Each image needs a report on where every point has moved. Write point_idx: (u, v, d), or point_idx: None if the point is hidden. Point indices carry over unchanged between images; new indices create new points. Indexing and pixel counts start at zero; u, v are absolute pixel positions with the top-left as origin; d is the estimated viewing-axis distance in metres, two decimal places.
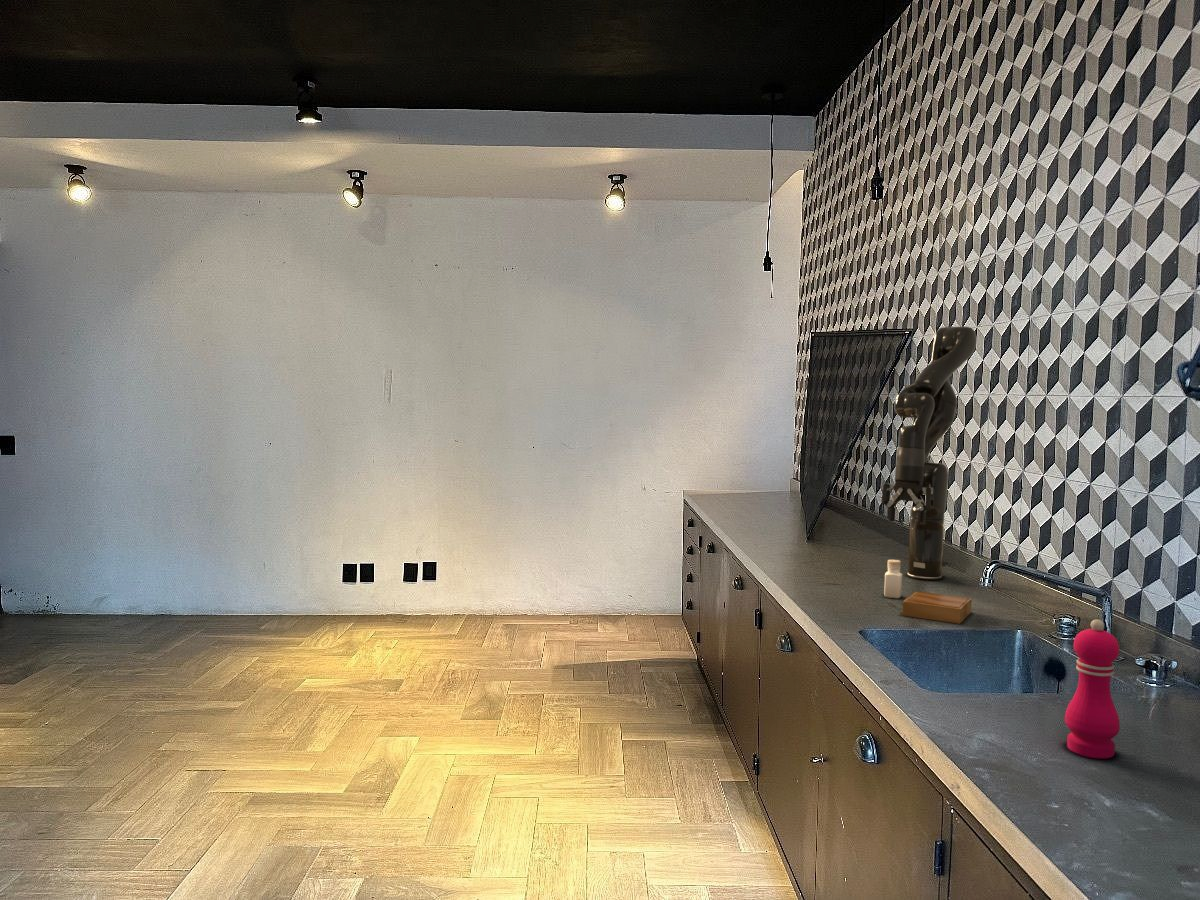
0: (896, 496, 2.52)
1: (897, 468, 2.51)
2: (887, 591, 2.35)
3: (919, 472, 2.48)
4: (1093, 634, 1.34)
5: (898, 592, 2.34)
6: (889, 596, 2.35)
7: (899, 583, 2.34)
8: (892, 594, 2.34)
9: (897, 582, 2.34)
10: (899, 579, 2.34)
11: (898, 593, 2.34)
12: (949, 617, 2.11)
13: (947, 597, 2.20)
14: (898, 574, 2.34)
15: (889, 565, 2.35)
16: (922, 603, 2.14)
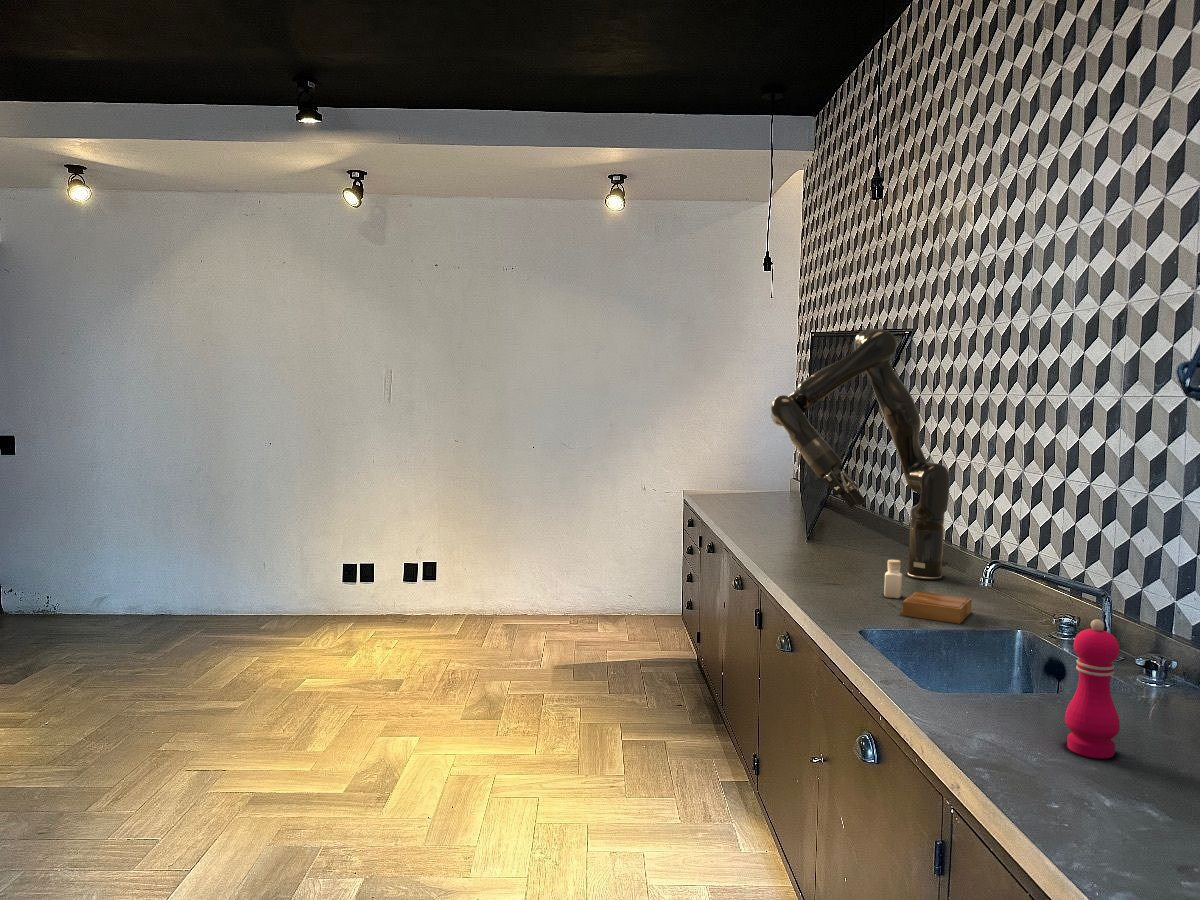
0: None
1: None
2: (887, 591, 2.35)
3: (817, 466, 2.43)
4: (1093, 634, 1.34)
5: (898, 592, 2.34)
6: (889, 596, 2.35)
7: (899, 583, 2.34)
8: (892, 594, 2.34)
9: (897, 582, 2.34)
10: (899, 579, 2.34)
11: (898, 593, 2.34)
12: (949, 617, 2.11)
13: (947, 597, 2.20)
14: (898, 574, 2.34)
15: (889, 565, 2.35)
16: (922, 603, 2.14)
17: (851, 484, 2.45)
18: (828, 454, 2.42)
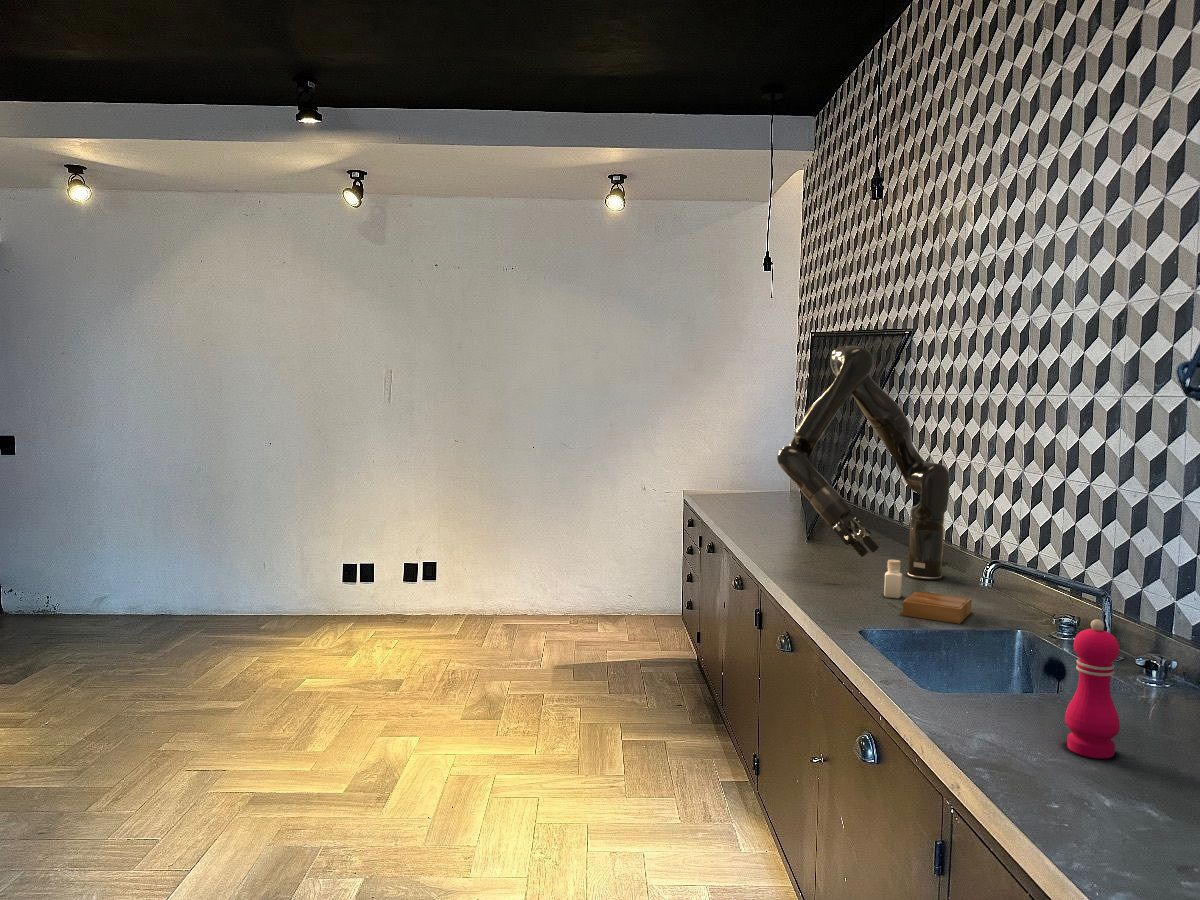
0: None
1: None
2: (887, 591, 2.35)
3: (826, 515, 2.42)
4: (1093, 634, 1.34)
5: (898, 592, 2.34)
6: (889, 596, 2.35)
7: (899, 583, 2.34)
8: (892, 594, 2.34)
9: (897, 582, 2.34)
10: (899, 579, 2.34)
11: (898, 593, 2.34)
12: (949, 617, 2.11)
13: (947, 597, 2.20)
14: (898, 574, 2.34)
15: (889, 565, 2.35)
16: (922, 603, 2.14)
17: (863, 531, 2.43)
18: (837, 503, 2.41)
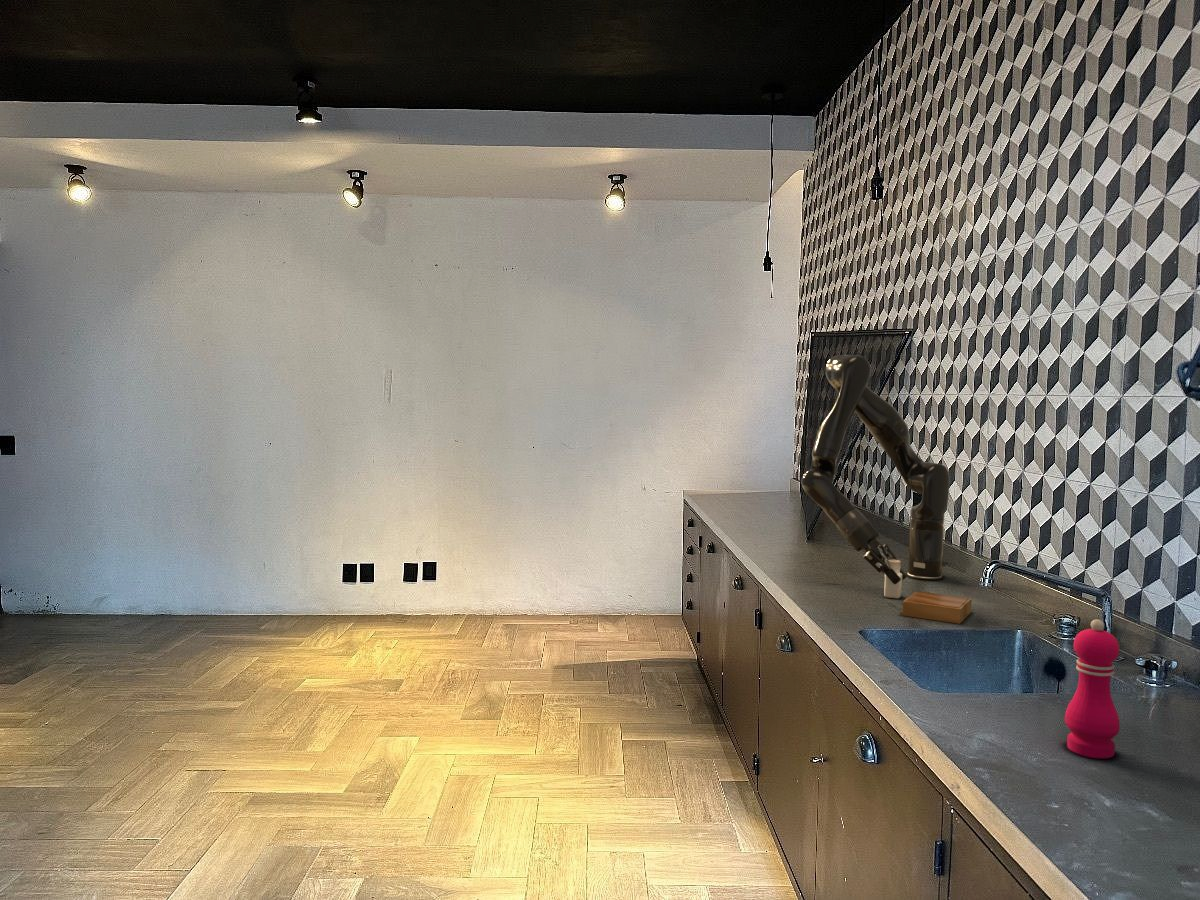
0: None
1: None
2: (887, 591, 2.35)
3: (853, 540, 2.38)
4: (1093, 634, 1.34)
5: (898, 592, 2.34)
6: (889, 596, 2.35)
7: (899, 583, 2.34)
8: (892, 594, 2.34)
9: None
10: None
11: (898, 593, 2.34)
12: (949, 617, 2.11)
13: (947, 597, 2.20)
14: (898, 574, 2.34)
15: None
16: (922, 603, 2.14)
17: (890, 558, 2.38)
18: (864, 527, 2.37)
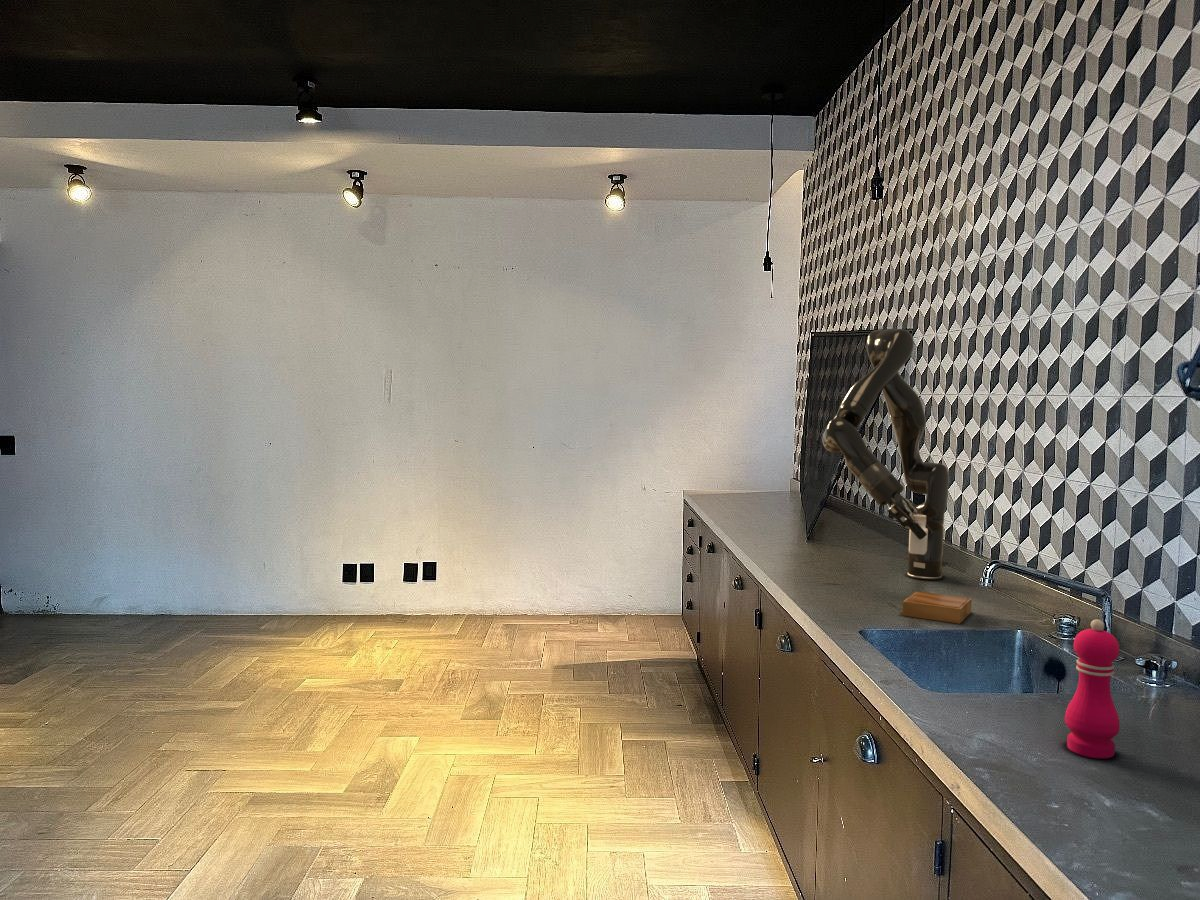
0: None
1: None
2: (912, 547, 2.24)
3: (876, 494, 2.27)
4: (1093, 634, 1.34)
5: (923, 548, 2.23)
6: (914, 552, 2.24)
7: (925, 538, 2.23)
8: (917, 550, 2.23)
9: None
10: None
11: (923, 549, 2.23)
12: (949, 617, 2.11)
13: (947, 597, 2.20)
14: (924, 529, 2.23)
15: None
16: (922, 603, 2.14)
17: (915, 512, 2.27)
18: (888, 480, 2.26)
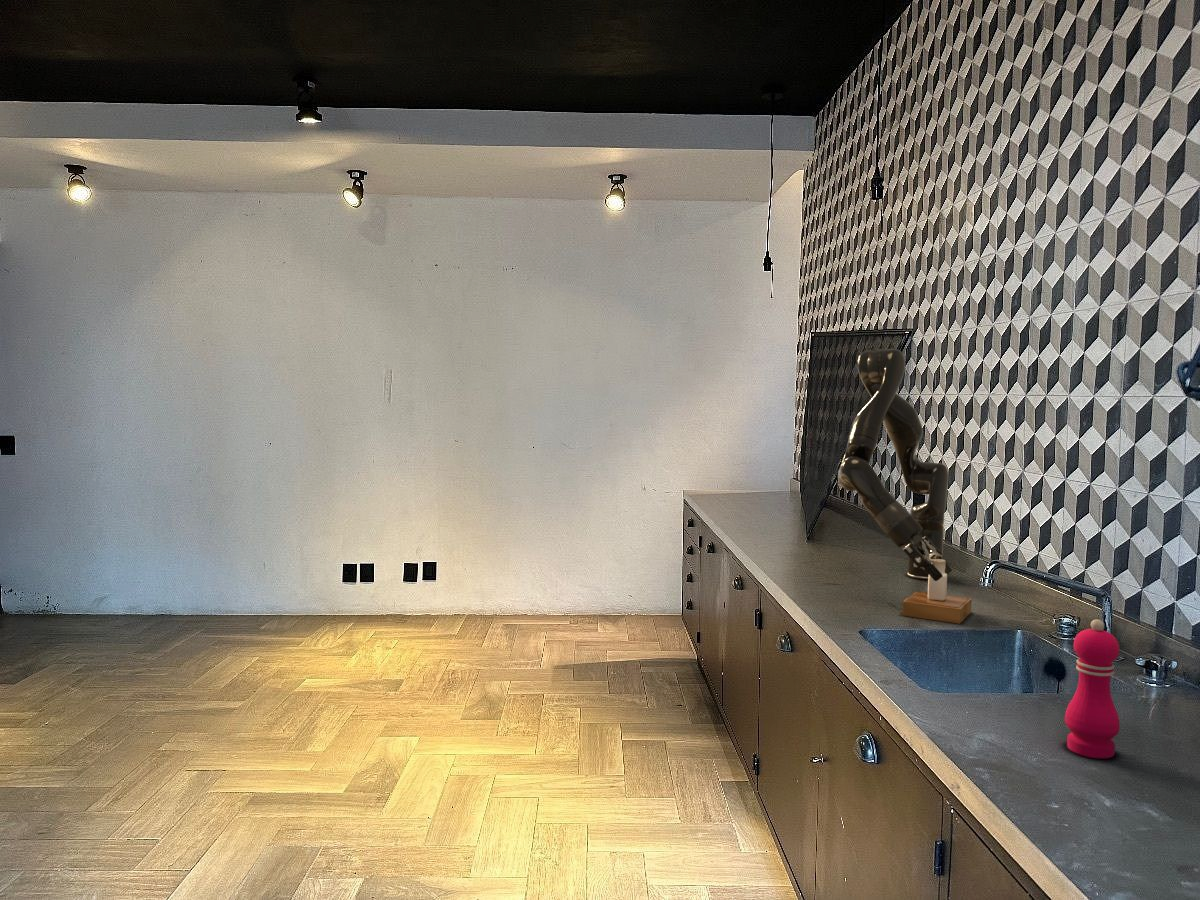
0: None
1: None
2: (931, 593, 2.17)
3: (895, 535, 2.20)
4: (1093, 634, 1.34)
5: (943, 594, 2.16)
6: (933, 598, 2.17)
7: (944, 584, 2.16)
8: (937, 596, 2.17)
9: (942, 583, 2.16)
10: (944, 580, 2.16)
11: (943, 595, 2.16)
12: (949, 617, 2.11)
13: (947, 597, 2.20)
14: (943, 574, 2.16)
15: None
16: (922, 603, 2.14)
17: (934, 552, 2.21)
18: (906, 521, 2.19)
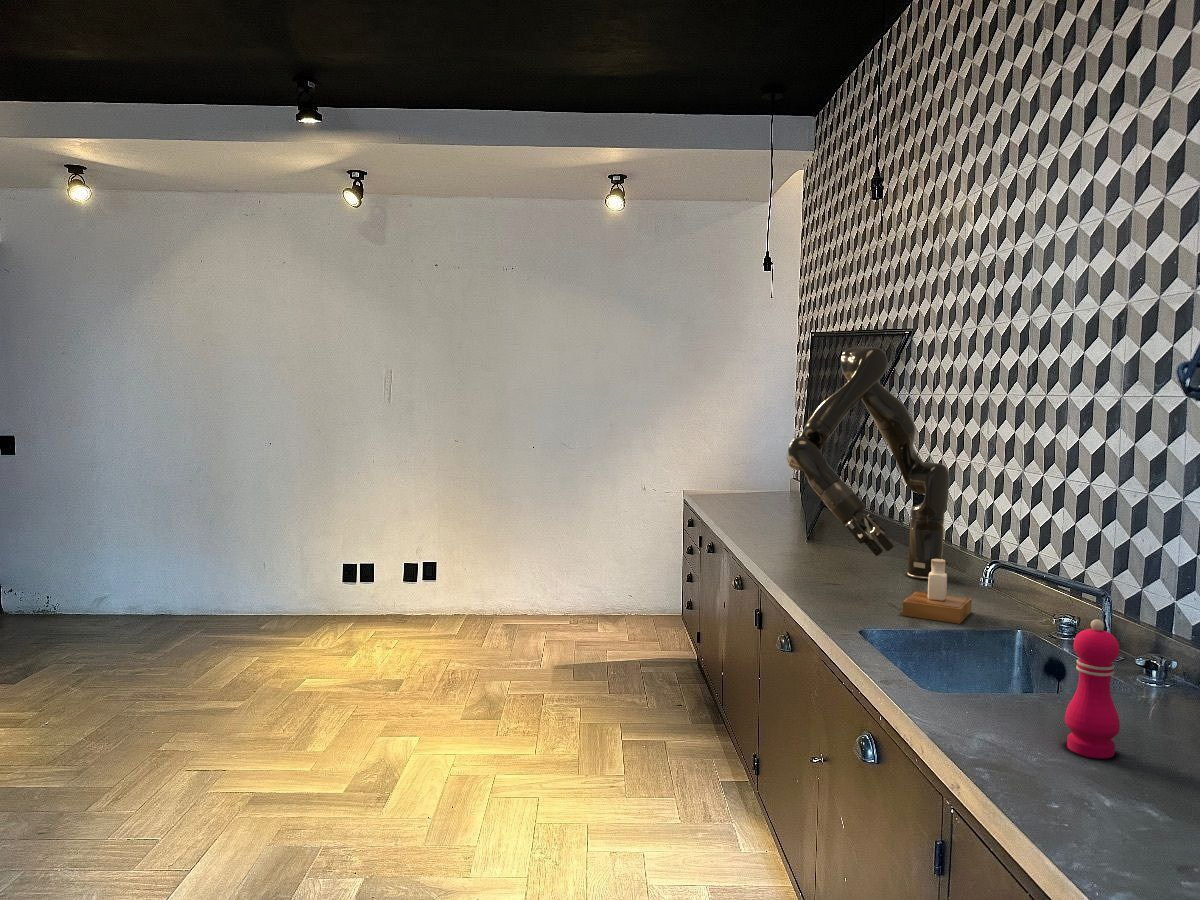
0: None
1: None
2: (931, 593, 2.17)
3: (838, 512, 2.29)
4: (1093, 634, 1.34)
5: (943, 594, 2.16)
6: (933, 598, 2.17)
7: (944, 584, 2.16)
8: (937, 596, 2.17)
9: (942, 583, 2.16)
10: (944, 580, 2.16)
11: (943, 595, 2.16)
12: (949, 617, 2.11)
13: (947, 597, 2.20)
14: (943, 574, 2.16)
15: (933, 565, 2.17)
16: (922, 603, 2.14)
17: (877, 529, 2.30)
18: (850, 499, 2.28)
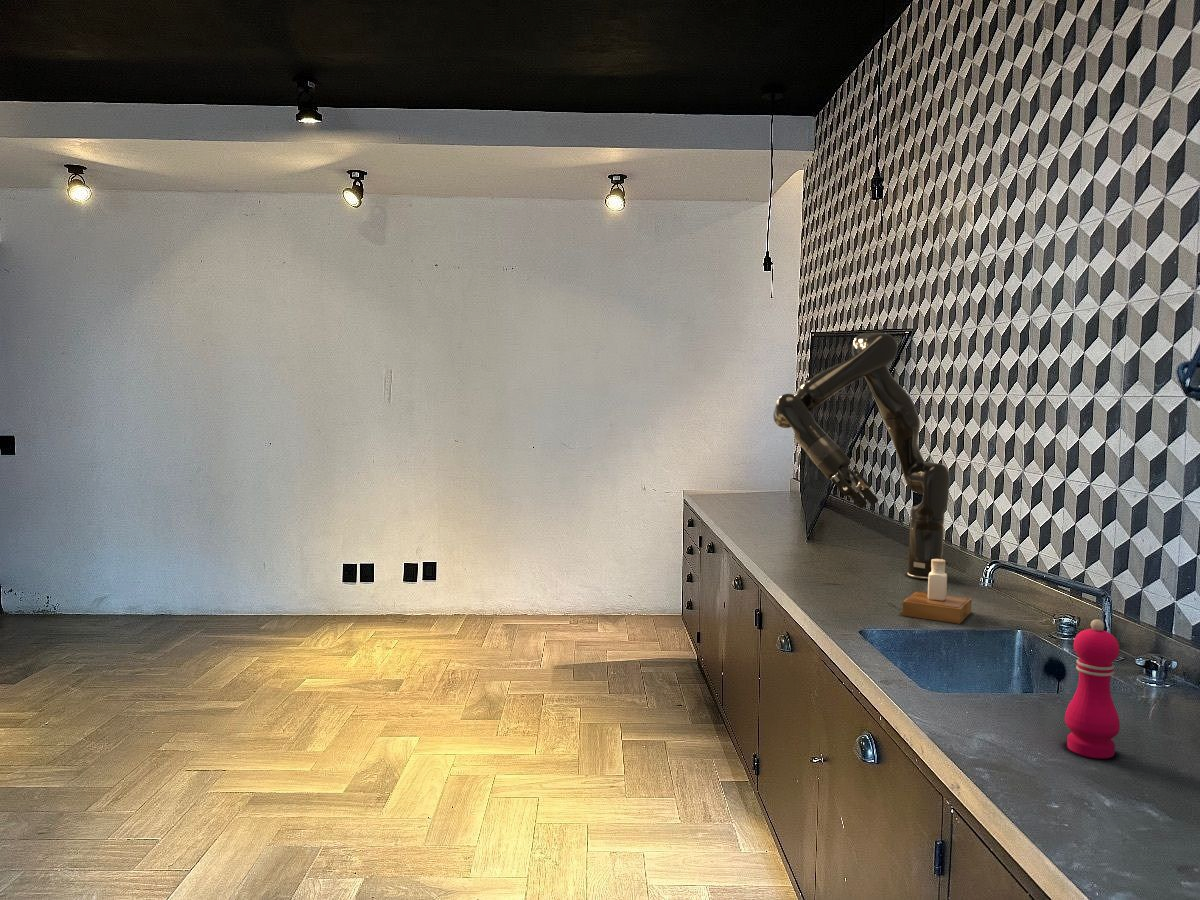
0: None
1: None
2: (931, 593, 2.17)
3: (824, 466, 2.33)
4: (1093, 634, 1.34)
5: (943, 594, 2.16)
6: (933, 598, 2.17)
7: (944, 584, 2.16)
8: (937, 596, 2.17)
9: (942, 583, 2.16)
10: (944, 580, 2.16)
11: (943, 595, 2.16)
12: (949, 617, 2.11)
13: (947, 597, 2.20)
14: (943, 574, 2.16)
15: (933, 565, 2.17)
16: (922, 603, 2.14)
17: (862, 483, 2.34)
18: (835, 453, 2.32)
